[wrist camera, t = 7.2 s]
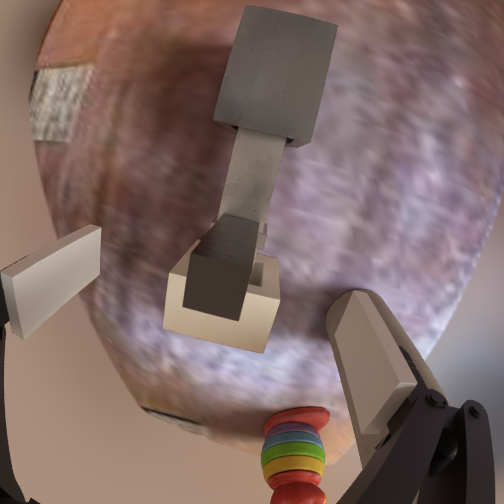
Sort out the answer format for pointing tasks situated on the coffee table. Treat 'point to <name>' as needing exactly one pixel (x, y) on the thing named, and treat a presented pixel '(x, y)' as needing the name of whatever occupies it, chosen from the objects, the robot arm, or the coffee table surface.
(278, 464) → the stacking bear
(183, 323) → the socket block
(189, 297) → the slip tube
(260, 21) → the grey block
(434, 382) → the thermos bottle
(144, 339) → the coffee table surface
